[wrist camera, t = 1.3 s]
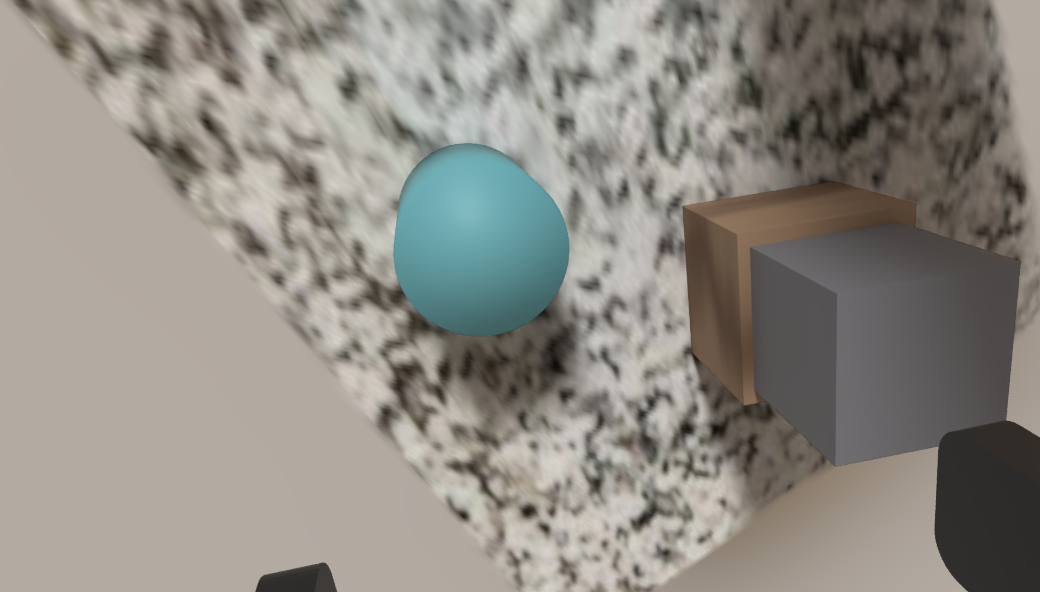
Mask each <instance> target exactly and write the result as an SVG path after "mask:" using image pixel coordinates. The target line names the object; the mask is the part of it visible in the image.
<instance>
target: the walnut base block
mask: <svg viewBox="0 0 1040 592" xmlns="http://www.w3.org/2000/svg"><path fill="white" fill-rule="evenodd" d="M915 219H916V204H914V203H910V202H907V201H903V200H900V199H896V198H892V197H889V196H885V195H881V194H878V193H874V192H870V191H867V190H863V189H860V188H856V187H852V186H849V185H845V184H841V183H838V182H834V181H831V182H825V183H819V184H813V185H807V186H801V187H795V188H789V189H783V190H777V191H770V192H764V193H758V194H752V195H746V196H740V197H734V198H728V199H722V200H716V201H710V202H704V203H698V204H691V205H685V206H683V222H684V237H685V253H686V269H687V284H688V300H689V316H690V331H691V347H692V353H693V354H694V355H695V356H696V357H697V358H698V359H699V360H700V361H701V362H702V363H703V364H704V365H705V366H706V367H707V368H708V369H709V370H710V371H711V372H712V373H713V374H714V375H715V376H716V377H717V378H718V379H719V380H720V381H721V382H722V384H723V385H724V386H725V387H726V388H727V389H728V390H729V391H730V392H731V393H732V394H733V395H734V396H735V397H736V398H737V399H738V400H739V401H740V402H741V403H742V404H743V405H749V404H755V403H760V402H765V401H766V400H765V399H764V398H763V397H762V396H761V395H759V394H758V393H757V392H756V391H755V390H754V366H753V333H752V300H751V267H750V247H752V246H758V245H764V244H770V243H776V242H782V241H788V240H794V239H800V238H806V237H812V236H818V235H824V234H830V233H836V232H841V231H847V230H853V229H859V228H865V227H871V226H877V225H883V224H889V223H895V222H900V223H903V224H906V225H909V226H912V227H915Z"/></svg>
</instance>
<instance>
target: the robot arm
mask: <svg viewBox="0 0 1040 592" xmlns="http://www.w3.org/2000/svg"><path fill="white" fill-rule="evenodd" d="M935 539H936V543H937V547H938V550H939V553H940V555H941V557H942V560H943V561H944V563H945V565H946V567H947V569H948V570H949V572H950V573H951V574H952V576H953V577H954V578H955V579H956V580H957V581H958V582H959V584H961V585H962V586H963V587H964V588H965V589H966V590H967V591H968V592H1040V437H1038V436H1036V435H1035V434H1033V433H1031V432H1030V431H1028V430H1027V429H1025V428H1023V427H1022V426H1020V425H1018V424H1016V423H1014V422H1011V421H999V422H994V423H990V424H985V425H980V426H975V427H971V428H966V429H961V430H957V431H952V432H948V433H946V434H945V435H944V436H943V437H942V439H941V441H940V444H939V450H938V469H937V490H936V510H935ZM256 592H337V590H336V587H335V583H334V580H333V576H332V573H331V571H330V569H329V567H328V565H327V564H326V563H319V564H315V565H310V566H305V567H300V568H295V569H291V570H286V571H281V572H277V573H272V574H267V575H264V576H262V577H261V579H260V580H259V583H258V585H257V588H256Z"/></svg>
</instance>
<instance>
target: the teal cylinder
mask: <svg viewBox="0 0 1040 592" xmlns="http://www.w3.org/2000/svg"><path fill="white" fill-rule="evenodd" d="M568 260H569V238H568V233H567V228H566V225H565V222H564V219H563V216H562V214H561V212H560V210H559V208H558V207H557V205H556V204H555V202H554V201H553V199H552V198H551V197H550V195H549V194H548V193H547V192H546V191H545V190H544V189H543V188H542V187H541V186H540V185H539V184H538V183H537V182H536V181H535V180H534V179H532V178H531V177H530V176H529V175H528V174H527V173H526V172H525V171H524V170H523V169H522V168H521V167H520V166H519V165H518V164H517V163H515V162H514V161H513V160H512V159H511V158H510V157H508V156H507V155H505V154H504V153H502V152H500V151H498V150H496V149H494V148H491V147H488V146H485V145H480V144H470V143H464V144H455V145H451V146H447V147H444V148H442V149H439V150H437V151H435V152H433V153H431V154H430V155H428V156H427V157H426V158H424V159H423V160H422V161H421V162H420V163H419V164H418V165H417V166H416V167H415V168H414V169H413V170H412V172H411V173H410V175H409V176H408V178H407V180H406V181H405V184H404V186H403V188H402V191H401V195H400V199H399V206H398V214H397V222H396V231H395V239H394V264H395V270H396V274H397V277H398V280H399V283H400V285H401V288H402V290H403V292H404V293H405V295H406V297H407V298H408V300H409V301H410V302H411V304H412V305H413V306H414V307H415V308H416V309H417V310H418V311H419V312H420V313H421V314H422V315H423V316H424V317H425V318H427V319H428V320H429V321H431V322H432V323H434V324H436V325H438V326H439V327H441V328H443V329H446V330H448V331H451V332H454V333H458V334H462V335H469V336H491V335H497V334H502V333H506V332H509V331H511V330H514V329H517V328H519V327H521V326H522V325H524V324H526V323H528V322H529V321H531V320H532V319H534V318H535V317H536V316H537V315H539V314H540V313H541V312H542V311H543V310H544V309H545V308H546V307H547V306H548V305H549V303H550V302H551V301H552V300H553V298H554V297H555V295H556V294H557V292H558V290H559V288H560V286H561V284H562V282H563V279H564V277H565V274H566V270H567V266H568Z"/></svg>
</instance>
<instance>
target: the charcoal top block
mask: <svg viewBox="0 0 1040 592" xmlns="http://www.w3.org/2000/svg"><path fill="white" fill-rule="evenodd" d="M1020 265H1021V261H1018V260H1015V259H1011V258H1008V257H1005V256H1002V255H999V254H996V253H993V252H990V251H987V250H983V249H980V248H977V247H974V246H971V245H968V244H965V243H962V242H959V241H956V240H952V239H949V238H946V237H943V236H940V235H937V234H934V233H931V232H928V231H925V230H921V229H918V228H915V227H912V226H909V225H906V224H903V223H900V222H895V223H889V224H883V225H877V226H871V227H865V228H859V229H853V230H847V231H841V232H836V233H830V234H824V235H818V236H812V237H806V238H800V239H794V240H788V241H782V242H776V243H770V244H764V245H758V246H752V247H750V267H751V300H752V333H753V366H754V390H755V391H756V392H757V393H758V394H759V395H761V396H762V397H763V398H764V399H765V400H766V401H767V402H768V403H769V404H770V405H771V406H772V407H773V408H774V409H775V410H776V411H777V412H778V413H779V414H781V415H782V416H783V417H784V418H785V419H786V420H787V421H788V422H789V423H790V424H791V425H792V426H793V427H794V428H795V429H796V430H797V431H798V432H799V433H801V434H802V435H803V436H804V437H805V438H806V439H807V440H808V441H809V442H810V443H811V444H812V445H813V446H814V447H815V448H816V449H817V450H818V451H819V452H821V453H822V454H823V455H824V456H825V457H826V458H827V459H828V460H829V461H830V462H831V463H832V464H833V465H834V466H835V467H836V466H842V465H847V464H851V463H857V462H861V461H867V460H872V459H877V458H882V457H887V456H892V455H897V454H902V453H907V452H912V451H917V450H922V449H927V448H932V447H937V446H939V444H940V441H941V439H942V437H943V436H944V435H945V434H946V433H948V432H952V431H957V430H961V429H966V428H971V427H975V426H980V425H985V424H990V423H994V422H999V421H1006V415H1007V404H1008V394H1009V383H1010V371H1011V361H1012V351H1013V340H1014V329H1015V318H1016V308H1017V297H1018V286H1019V275H1020Z"/></svg>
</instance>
